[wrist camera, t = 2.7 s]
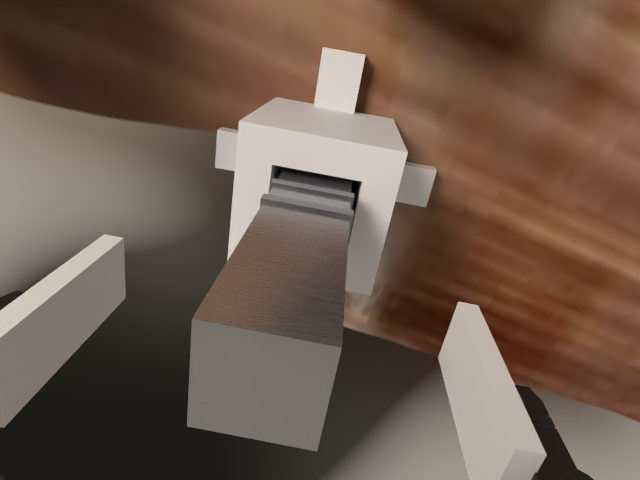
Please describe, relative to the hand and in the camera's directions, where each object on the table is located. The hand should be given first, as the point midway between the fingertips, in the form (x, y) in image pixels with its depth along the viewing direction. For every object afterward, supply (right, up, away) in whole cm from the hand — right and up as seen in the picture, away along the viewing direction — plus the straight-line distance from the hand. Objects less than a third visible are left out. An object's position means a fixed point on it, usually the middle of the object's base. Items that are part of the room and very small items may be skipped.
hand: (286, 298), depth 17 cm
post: (+2, +8, +18) cm, 19 cm away
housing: (+2, +8, +18) cm, 19 cm away
